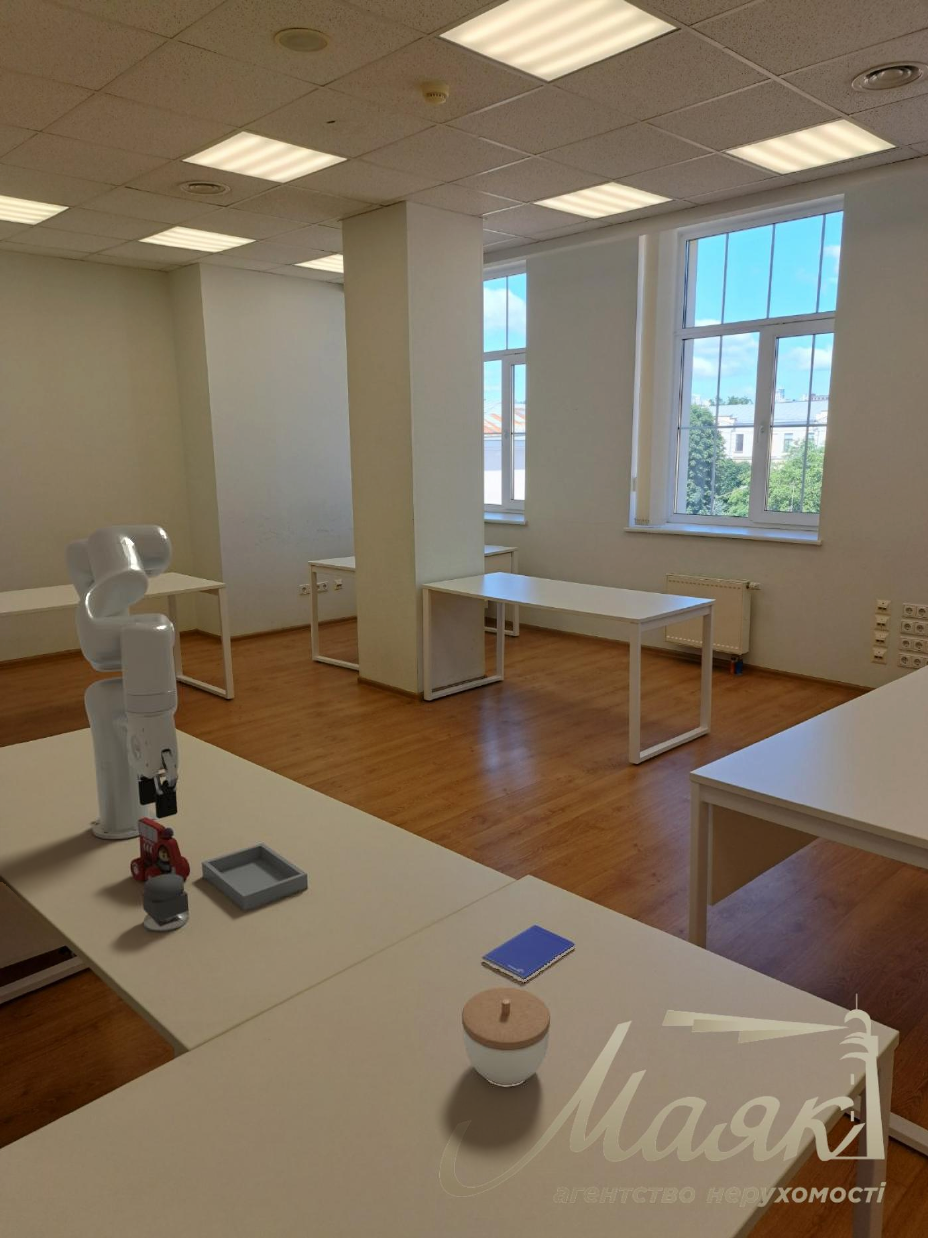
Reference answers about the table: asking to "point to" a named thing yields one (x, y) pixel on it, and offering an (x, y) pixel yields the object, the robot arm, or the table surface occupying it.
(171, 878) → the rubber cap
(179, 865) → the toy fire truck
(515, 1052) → the lidded jar
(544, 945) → the hard drive
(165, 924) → the silver flared round stand
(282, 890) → the grey shallow rectangular tray
